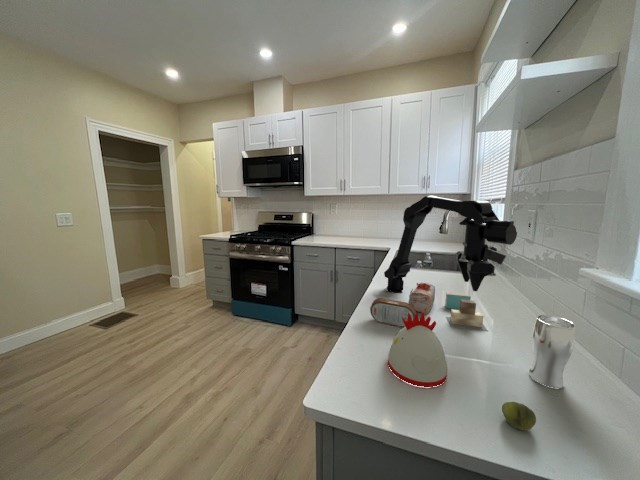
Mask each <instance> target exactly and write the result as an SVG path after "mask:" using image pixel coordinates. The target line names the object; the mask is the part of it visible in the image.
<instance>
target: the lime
mask: <svg viewBox="0 0 640 480" xmlns="http://www.w3.org/2000/svg"><path fill="white" fill-rule="evenodd" d="M501 410H502V411H501V412H502V414H503V417H504V419H505V420H506V421H507V422H508V424H510V425H511V426H512V427H513V426H514V427H513V428H515V427H516V428H515V429H517V428H518V429H519V430H521V429H522V431H528V430H529V431H530V430H531V429H532V428H533V427H534V426H535V425H536V423H537V417H536V416H537V415H536V414H535V412H534V411H533V410H532V409H531V408H530V407H528V406H527V405H526V404H523V403H520V402H517V401H508V402H504V403H503V404H502V406H501Z"/></svg>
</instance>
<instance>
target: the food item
mask: <svg viewBox="0 0 640 480" xmlns="http://www.w3.org/2000/svg"><path fill="white" fill-rule="evenodd" d="M408 295H409V296H408V298H409V299H408V304H410V305H412V306H413V307H414V309H415V311H416V312H417V313H418V312H419V313H421V314H422V312H423V313H424V314H425V315H428V314H429V312H430V311H431V309H432V306H433V305H434V302H435V299H436V286H435V285H433V284H431V283H428V282H419V283H418V282H416V287H415V289H414V288H412V289H411V290H410V292H409V294H408Z"/></svg>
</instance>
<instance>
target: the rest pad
mask: <svg viewBox="0 0 640 480" xmlns="http://www.w3.org/2000/svg"><path fill="white" fill-rule="evenodd" d="M450 318H451V316H446V317H445V319H446V321H447V322H448V325H449V327H450V328H459V329H467V330H474V331H482V332H489V330H488V329H487V328H486V326H485V325H484V324H483V325H482V327H475V326H468V325H460V324H452V323H451V320H450Z"/></svg>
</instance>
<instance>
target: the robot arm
mask: <svg viewBox="0 0 640 480" xmlns="http://www.w3.org/2000/svg"><path fill="white" fill-rule="evenodd" d="M433 208H435V209H439V210H444V211H445V210H446V211H450V212H454V213H457V214H458V215H460V216H462V217H465V218H463V220H461V221H460V222H459V225H460V226H465V233H464V234H465V235H464V241H463V240H462V245H463V250H458V251H457V252H456V253H455V257H454V258H455V259H456V262H457V265H458V268H459V271H460V272H461V275H462V278H463V280H464V282H465V283H468V282H469V281H470V285H471V288H472V291H473V292H478V290H479V289H480V286H481V284H482V282H483V280H484V278H485V277H487V276H490V275H492V274H495V268H496V267H495V266H494V264H493V263H492V261H493V262H495V263H497V264H498V265H502V264H503V262H504V261H505V259H506V257H507V255H506V254H503V253H501V252H499V251H497V250H498V249H497V248H496V247H494V246H492V245H490V246H489V245H488V244H487V243H486V241H487V242H488V243H495V244H501V245H510V246H511V245H513V244H514V242H516V240H517V236H518V231H517V227H516V226H515V221H514V220H500V218H498V215H496V213H495V211H494V210H493V207H492V204H491V202H490V201H488V200H458V199H453V198H448V197H445V198H444V197H439V196H436V195H425V196H423V197H422V198H421V199H419V200H418V201H416V202H414V203H413V204H411V205H410V206H408V207H406V208H405V210H404V211H403V223H404V228H403V231H402V236H401V238H400V239H401V240H400V242H399V246H398V250H397V253H396V256H395V257H394V258H393V259H392V260H391V262H390V264H389V267H388V268H387V269H386V270H385V271H384V272H383V274H384V275H383V276H384V278H386V279H387V288H386V289H387V290H386V291H387V292H390V293H391V292H392V293H400V294H401V293H403V291H404V284H405V283H404V279H403V278H406V277H407V274H408V273H409V272H411V267H412V263H411V262H410V260H409V257H410V253H411V251H412V247H413V243H414V240H415V237H416V235H417V231H418V229H419V228H420V227H421V225H423V223H424V221H425V219H426V217H427V215H429V214H430V213H431V212H432V211H433ZM490 261H491V262H490Z"/></svg>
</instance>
